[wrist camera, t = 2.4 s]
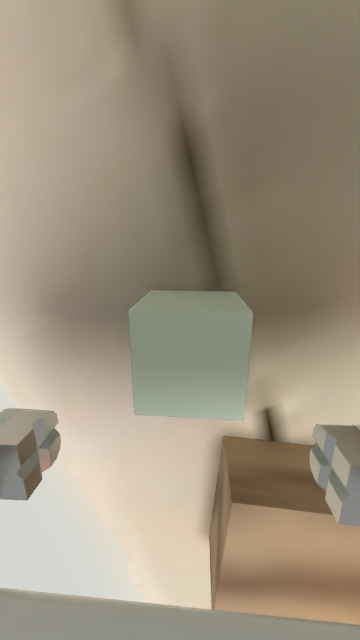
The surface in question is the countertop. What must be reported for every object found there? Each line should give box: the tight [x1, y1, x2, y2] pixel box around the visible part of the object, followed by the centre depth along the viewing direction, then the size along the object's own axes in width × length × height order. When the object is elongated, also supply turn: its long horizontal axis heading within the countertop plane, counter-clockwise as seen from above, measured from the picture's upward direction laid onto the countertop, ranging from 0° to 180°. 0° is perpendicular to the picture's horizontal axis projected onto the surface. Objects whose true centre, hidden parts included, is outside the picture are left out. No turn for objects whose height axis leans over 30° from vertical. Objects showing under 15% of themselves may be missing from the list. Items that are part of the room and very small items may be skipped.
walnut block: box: [209, 436, 360, 625], centre depth 16 cm, size 10×10×5 cm
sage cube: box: [128, 290, 254, 421], centre depth 13 cm, size 5×5×5 cm
